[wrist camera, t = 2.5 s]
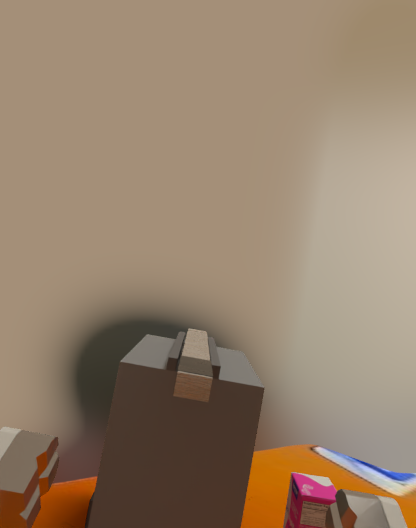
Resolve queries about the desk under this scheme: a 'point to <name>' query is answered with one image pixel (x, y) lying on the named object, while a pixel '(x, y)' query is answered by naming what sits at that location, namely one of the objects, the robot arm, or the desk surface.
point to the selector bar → (194, 368)
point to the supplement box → (308, 501)
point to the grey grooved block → (177, 442)
